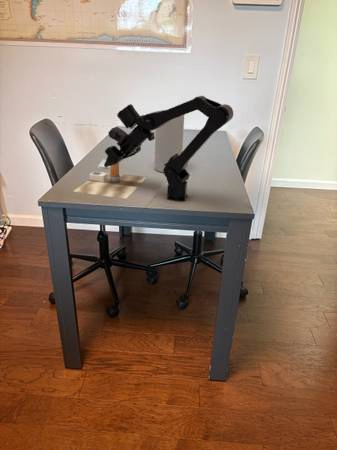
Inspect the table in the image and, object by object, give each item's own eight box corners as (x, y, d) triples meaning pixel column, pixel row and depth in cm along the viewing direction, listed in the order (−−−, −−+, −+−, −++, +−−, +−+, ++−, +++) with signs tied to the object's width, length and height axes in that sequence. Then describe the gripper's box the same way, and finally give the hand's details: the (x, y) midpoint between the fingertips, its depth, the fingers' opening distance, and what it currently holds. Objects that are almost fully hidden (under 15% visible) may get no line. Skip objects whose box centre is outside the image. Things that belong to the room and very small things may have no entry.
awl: (122, 181, 136) (121, 149, 130) (115, 184, 133) (114, 151, 127) (114, 178, 138) (113, 147, 132) (107, 181, 135) (106, 149, 129)
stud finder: (107, 178, 138) (107, 172, 137) (103, 181, 135) (103, 175, 133) (94, 177, 139) (93, 171, 138) (89, 180, 136) (89, 174, 135)
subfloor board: (146, 181, 142) (146, 177, 141) (126, 202, 121) (126, 198, 120) (100, 175, 146) (100, 171, 145) (73, 195, 125) (72, 191, 125)
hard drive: (102, 158, 165) (97, 166, 154) (119, 159, 165) (115, 167, 154) (102, 162, 166) (97, 169, 155) (119, 162, 166) (115, 170, 155)
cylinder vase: (150, 166, 160) (151, 111, 149) (174, 164, 165) (177, 111, 153) (160, 174, 150) (161, 116, 139) (185, 172, 155) (189, 116, 143)
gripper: (133, 117, 131) (110, 142, 140) (108, 125, 115) (83, 152, 124) (151, 139, 132) (127, 163, 141) (129, 150, 117) (103, 176, 125)
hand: (111, 163), depth 133 cm, fingers open, 9 cm apart
